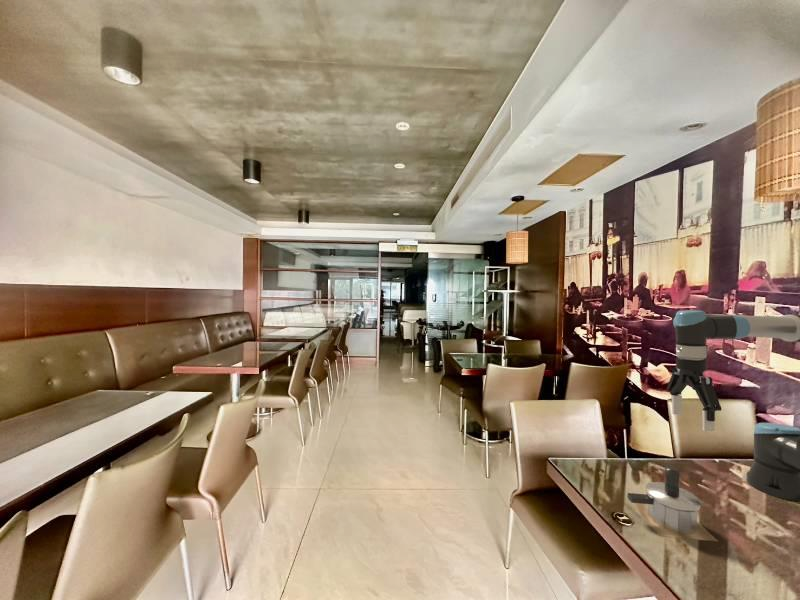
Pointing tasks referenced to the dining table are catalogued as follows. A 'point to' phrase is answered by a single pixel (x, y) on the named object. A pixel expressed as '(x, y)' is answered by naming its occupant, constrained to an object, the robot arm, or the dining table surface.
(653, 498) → the lid
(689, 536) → the trivet
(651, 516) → the pot
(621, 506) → the dining table surface
